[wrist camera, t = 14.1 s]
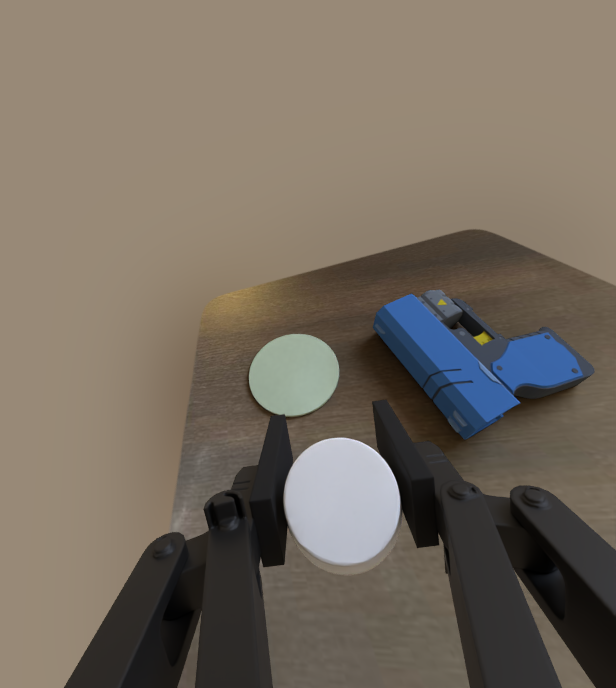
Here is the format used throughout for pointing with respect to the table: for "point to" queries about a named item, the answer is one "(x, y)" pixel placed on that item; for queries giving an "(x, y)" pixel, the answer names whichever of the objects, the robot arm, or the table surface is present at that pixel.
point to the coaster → (294, 375)
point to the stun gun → (474, 359)
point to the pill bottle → (342, 506)
